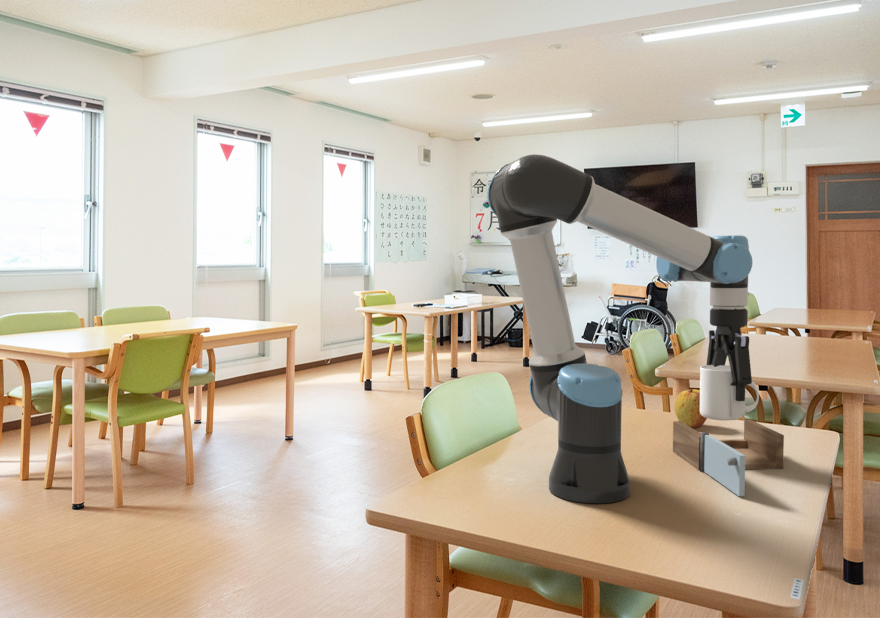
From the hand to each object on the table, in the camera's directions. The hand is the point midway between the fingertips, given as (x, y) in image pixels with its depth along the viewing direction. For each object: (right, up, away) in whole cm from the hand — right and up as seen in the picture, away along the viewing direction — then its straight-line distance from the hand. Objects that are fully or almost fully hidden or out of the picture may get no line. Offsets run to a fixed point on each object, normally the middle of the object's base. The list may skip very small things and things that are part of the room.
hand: (727, 410), depth 151 cm
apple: (+4, -9, +31) cm, 32 cm away
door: (-8, -12, -16) cm, 22 cm away
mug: (0, -2, -1) cm, 2 cm away
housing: (0, -11, +1) cm, 11 cm away
